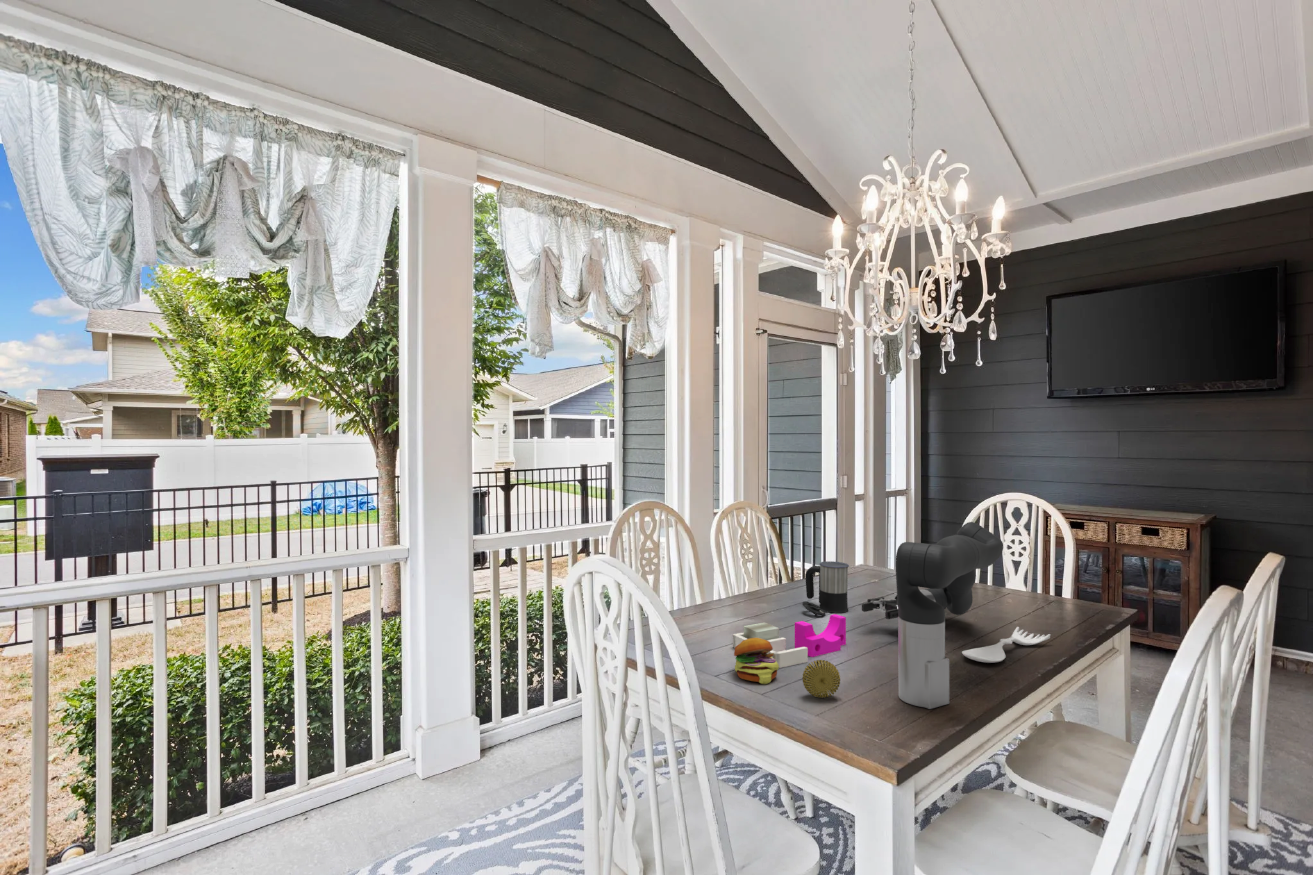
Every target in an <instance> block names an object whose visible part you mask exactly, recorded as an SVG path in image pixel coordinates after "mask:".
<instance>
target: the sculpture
mask: <svg viewBox="0 0 1313 875" xmlns="http://www.w3.org/2000/svg"><path fill="white" fill-rule="evenodd" d="M802 672H803V673H802V684H803V687H804V689H805V690H806V691H807V693H809V694H810V695H811V696H813V697H815V698H818V699H823V698H824V699H825V698H829V697H831V696H832V695H834V694H835V693H836V692H837V690H839V687H840V685H841V676H840V672H839V670H838V669H837V667H836V666H835V665H834V663H832V662H830V661H828V660H826V659H825V660H824V659H823V660H822V659H816V660H814V661H811V662H810V663H808V665H806V667H805V668H804V670H803V671H802Z"/></svg>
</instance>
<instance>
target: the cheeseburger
mask: <svg viewBox="0 0 1313 875" xmlns="http://www.w3.org/2000/svg"><path fill="white" fill-rule="evenodd" d="M772 650H773V648H772V646H771V644H770V642H769V641H767V640H764V639H761V638H750V639H746V640H743V641H742V642H741V643H740V644H739V645H737V646H736V647H735V648H734V651H733V656H734V657H735V665H734V670H735V673H737V677H738V678H739V679H741V680H746V681H751V682H757V683H759V684H761V685H766V684H767V685H768V684H769V683H771V681H772V680H774V679H775V678H776V677H777V674H778V670H779V669H780V668H779V665H778V663H777V662H776V660H775V659H774V658H772V656H773V653H772V654H770V653H769V654H767V653H768V652H770V651H772Z"/></svg>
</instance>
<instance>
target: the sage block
mask: <svg viewBox="0 0 1313 875" xmlns="http://www.w3.org/2000/svg"><path fill="white" fill-rule="evenodd" d="M743 633H744V637H745V638H747V639H750V638H761V639H764V640H772V639H777V638H780V628H779V627H777V626H774V625H772V624H770V623H767V622H759V623H755V624H749V625H743Z"/></svg>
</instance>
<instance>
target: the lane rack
mask: <svg viewBox="0 0 1313 875" xmlns="http://www.w3.org/2000/svg"><path fill="white" fill-rule="evenodd" d="M746 639H747V638H745V637H744V632H738V633H733V634H732V648H733V647H734V648H733V649H735V647H736V646H737V645H739V644H740V643H741V642H742V641H743V640H746ZM767 641H769V642H770V644H771V646H772V648H773V650H772V651H770V652H768V653H767V654H769V653H770V654H772V653H773V656H772V658H774V659H775V660H776V662H777V663H778V665H779V668H778V669H781V668H786V667H790V666H791V667H792V666H795V665H800V664H805V663H808V662H809V658H808V657H809V656H808V648H807V647H800V648H795V647H794V648H791V649H787V638H786V637H779V638H777V639H772V640H767Z"/></svg>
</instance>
